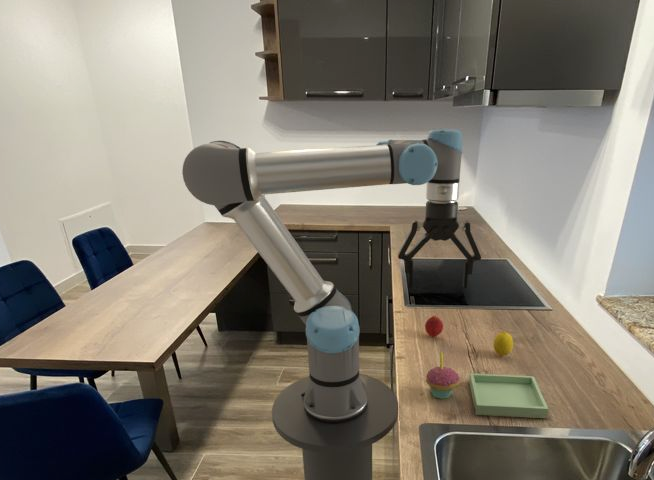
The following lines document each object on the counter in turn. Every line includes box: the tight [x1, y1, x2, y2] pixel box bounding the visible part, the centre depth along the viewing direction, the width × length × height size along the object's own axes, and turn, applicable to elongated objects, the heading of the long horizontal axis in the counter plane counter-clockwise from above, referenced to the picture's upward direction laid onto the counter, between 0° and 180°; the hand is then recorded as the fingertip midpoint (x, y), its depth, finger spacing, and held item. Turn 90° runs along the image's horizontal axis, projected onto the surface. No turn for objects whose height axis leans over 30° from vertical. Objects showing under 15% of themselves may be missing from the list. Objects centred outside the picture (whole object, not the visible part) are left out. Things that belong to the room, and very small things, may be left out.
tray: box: [468, 372, 549, 419], centre depth 112 cm, size 17×15×3 cm
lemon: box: [493, 331, 514, 357], centre depth 132 cm, size 6×6×8 cm
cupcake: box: [425, 349, 461, 400], centre depth 112 cm, size 9×8×12 cm
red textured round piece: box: [424, 313, 444, 338], centre depth 143 cm, size 6×6×8 cm
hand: (437, 285), depth 113 cm, fingers open, 13 cm apart
